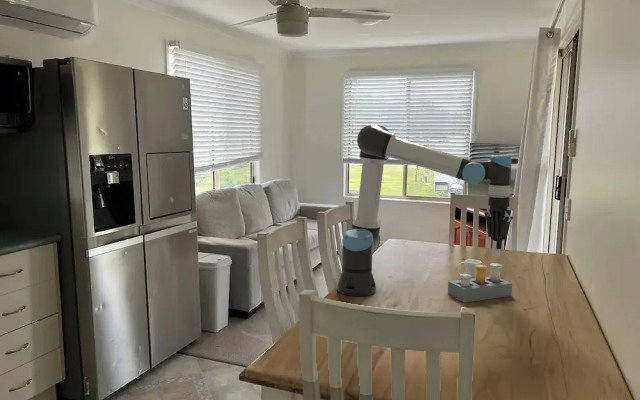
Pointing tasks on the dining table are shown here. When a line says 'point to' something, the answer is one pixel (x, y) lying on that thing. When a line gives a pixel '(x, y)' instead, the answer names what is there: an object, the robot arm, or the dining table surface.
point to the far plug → (495, 272)
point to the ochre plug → (480, 274)
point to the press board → (479, 290)
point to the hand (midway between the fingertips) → (496, 256)
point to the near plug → (465, 279)
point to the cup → (470, 266)
